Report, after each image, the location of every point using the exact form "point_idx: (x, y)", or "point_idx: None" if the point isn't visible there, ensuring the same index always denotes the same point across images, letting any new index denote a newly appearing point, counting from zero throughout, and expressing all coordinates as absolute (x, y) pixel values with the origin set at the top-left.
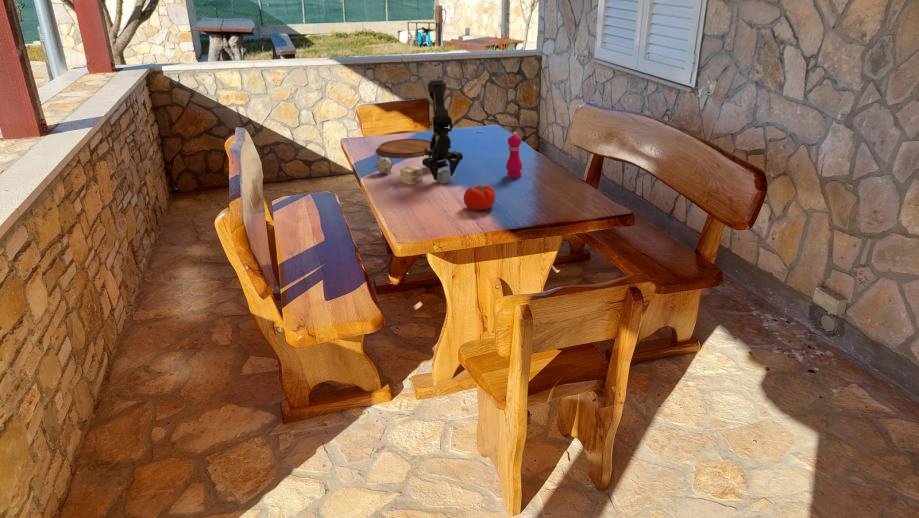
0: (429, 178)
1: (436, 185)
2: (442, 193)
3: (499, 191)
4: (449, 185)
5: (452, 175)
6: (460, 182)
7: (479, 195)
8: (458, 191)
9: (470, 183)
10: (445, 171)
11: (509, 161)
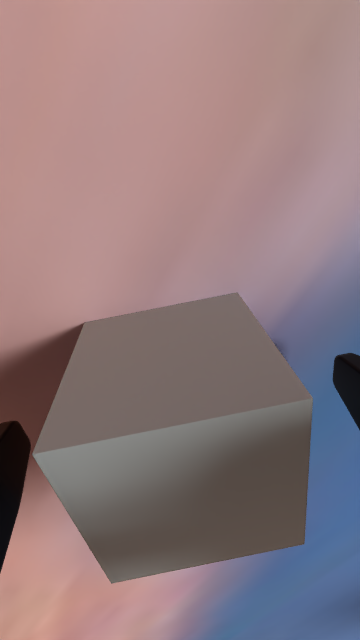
0: (15, 90)
1: None
2: (8, 601)
3: (334, 635)
4: None
5: (345, 389)
6: None
7: None
8: (141, 599)
9: (334, 517)
10: (232, 518)
11: None
